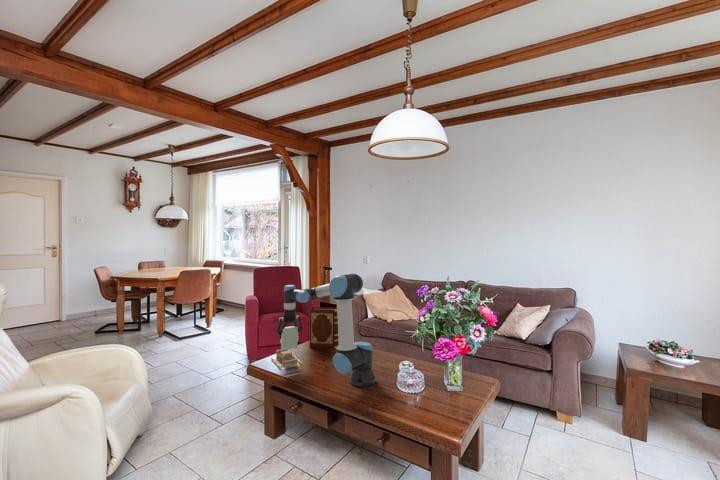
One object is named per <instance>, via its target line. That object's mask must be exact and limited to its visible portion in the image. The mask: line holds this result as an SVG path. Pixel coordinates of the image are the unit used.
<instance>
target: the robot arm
mask: <svg viewBox="0 0 720 480" xmlns="http://www.w3.org/2000/svg"><path fill="white" fill-rule="evenodd" d="M363 286H364V280H363V279H362V277H361V276H360V275H359V274H357V273H349V274H339V275H336V276H333V277H332V278H331V280H330V281H329V283H325V284H324V285H323V284H322V285H318V286H316V287H315V286H314V287H310V288H303V289H297V288H296V285H294V284H287V285H284V286H283V317H279V318H278V323H277V327H276V331H275V332H276V333H277V334H278V339H280V340H279V341H280V342H279V344H280V345H281V344H283V334H282V332H283V329H284V328H285V327H287V325H288V324H293V326H295V327H298V336H297V343H298V342H299V336H300V333H301V331H303V326H302V322H301V316H300V315H298V314H297V315H296V302H298V303H307V302H308V301H310V300H311V301H312V300H316V299H317V300H318V299H321V298H325V297H329V296H332V297H333V300H334V302H336V308H337V318H338V337H339V345H338V346H337V348H335V349H336V353H335V354H334V355H333V356H332V363H333V366H334V368H335V370H336V371H337V372H338V373H340V374H347V373H351V374H350V376H349V383H350V384H351V385H352V386H355V387H359V388H367V387H371V386H373V385H374V384H375V383H376V376H375V373H374V370H373V345H372V344H371V343H369V342H365V341H355V339H354V336H355V335H354V321H353V320H354V317H353V302H352V301H353V300H354V299H355V294H357V293H359V292H360V291H362V289H363ZM295 320H297V322H296V321H295ZM282 323H283V324H282Z"/></svg>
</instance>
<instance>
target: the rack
mask: <svg viewBox="0 0 720 480" xmlns="http://www.w3.org/2000/svg"><path fill="white" fill-rule="evenodd" d="M284 351H289V349H288V350H282V349H277V350H276V351H275V353H276V354H275V355H276V356H275V357H276V358H273V357H270V360H271V361H272V362H273V364H275V366H276V367H277V368H278V369H279V370H284V369H289V368H294V367H299V366H303V362H302V361H301V360H300V359H298V358H297V356H295V355H294V354H293V353H292V356H291V357H286V358H282V364H281V362H280V352H284Z"/></svg>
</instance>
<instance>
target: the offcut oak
mask: <svg viewBox="0 0 720 480" xmlns="http://www.w3.org/2000/svg"><path fill="white" fill-rule="evenodd" d="M292 354H293V351H291V349H288V351H284V352H280V357H281V358H286V357H291V356H292Z"/></svg>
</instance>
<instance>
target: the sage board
mask: <svg viewBox="0 0 720 480" xmlns="http://www.w3.org/2000/svg"><path fill="white" fill-rule="evenodd" d="M298 328H299V326H298V327H295V326H294V325H291V326H290V325H289V326H285V328H284V329H283V332H282V334H283V344H281V343H280V350H288V351H289V350H294V349H298V342H297V336H298ZM298 337H299V336H298Z"/></svg>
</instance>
